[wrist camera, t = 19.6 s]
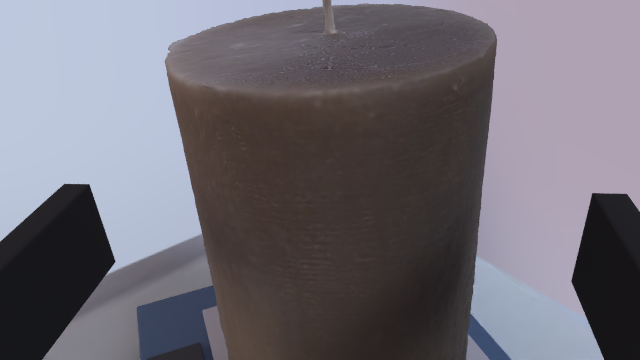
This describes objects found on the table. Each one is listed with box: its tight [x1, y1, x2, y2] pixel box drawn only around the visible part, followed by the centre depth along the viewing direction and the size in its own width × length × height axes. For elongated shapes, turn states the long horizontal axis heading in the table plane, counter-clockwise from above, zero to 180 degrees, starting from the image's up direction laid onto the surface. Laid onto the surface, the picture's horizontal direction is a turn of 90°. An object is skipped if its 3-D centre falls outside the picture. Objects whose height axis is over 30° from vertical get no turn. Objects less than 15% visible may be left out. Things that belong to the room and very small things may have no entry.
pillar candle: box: [165, 0, 497, 360], centre depth 18 cm, size 10×10×15 cm
